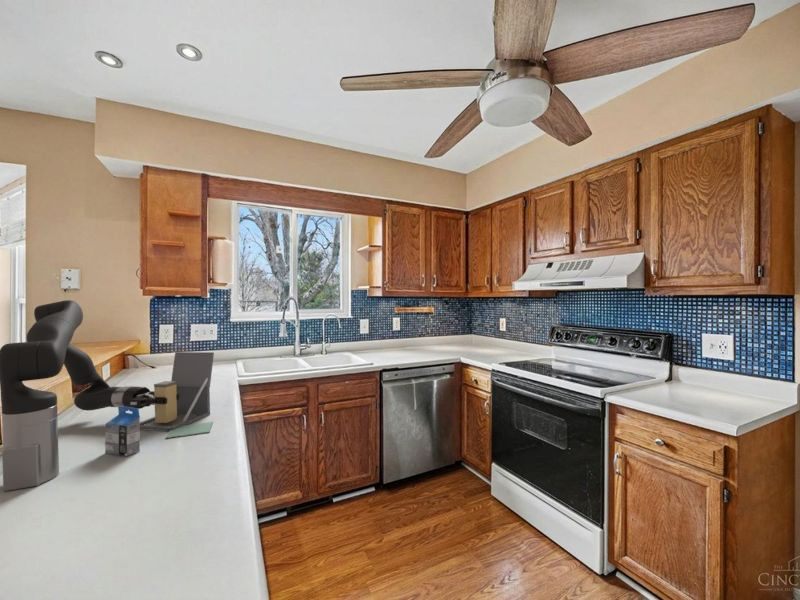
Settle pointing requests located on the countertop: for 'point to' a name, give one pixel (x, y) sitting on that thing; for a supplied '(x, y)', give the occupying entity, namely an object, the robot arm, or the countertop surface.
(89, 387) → the robot arm
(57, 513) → the countertop surface
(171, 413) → the block
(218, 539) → the countertop surface
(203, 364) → the case
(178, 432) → the mat
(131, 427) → the label tape box
